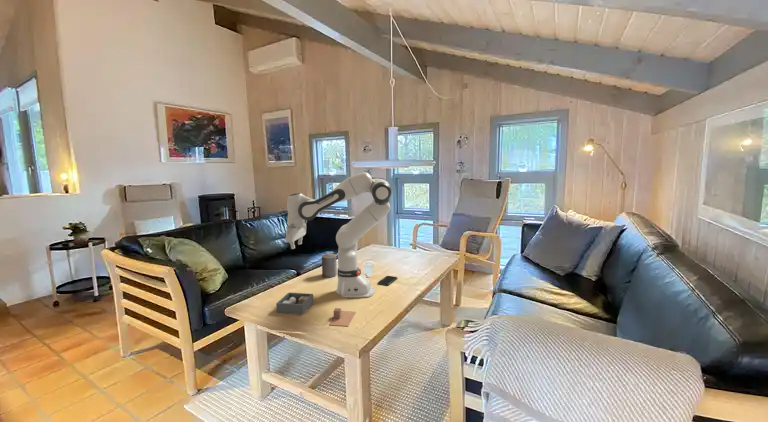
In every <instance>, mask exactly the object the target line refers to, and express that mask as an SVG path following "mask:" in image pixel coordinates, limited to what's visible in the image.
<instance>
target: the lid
mask: <svg viewBox="0 0 768 422" xmlns="http://www.w3.org/2000/svg"><path fill="white" fill-rule="evenodd" d="M332 311H333V318H332V319H331V321H330V322H329V324H328V326H333V327H334V326H335V327H336V326H337V327H347V328H348V327H349V326H350V324H351V322H352V320H353V319H354V316H356V313H357V312H356V311H350V310H348V311H347V310H342V308H337V307H335V308H334V309H333V310H332Z"/></svg>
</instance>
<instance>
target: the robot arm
mask: <svg viewBox="0 0 768 422" xmlns="http://www.w3.org/2000/svg"><path fill="white" fill-rule="evenodd" d="M364 193H365V194H366V193H370V194H371V195H372V198H373V200H372V201H371V203H370V204H369V205H367V206H365V207H364V208H363V209H362V210H361V211H360V212H358V214H356V215H355V216H354V217H353V218H352V219H351V220H349V221H348V222H347V223H346V224H343V225H341V227H340V228H339V229H338V230H337V232H336V235H335V241H336V244H337V246H338V248H337V249H338V250H337V264H338V265H337V275H336V276H337V286H336V290H335V291H336V294H338V295H340V296H341V297H343V298H351V299H352V298H356V299H357V298H370V297H372V296H374V294H375V291H376V289H375V287H374V286H372V284H371V281H370V280H369V278H367V277H366V276H364V275H363V274H362V272H361V271H362V268H359V267H358V241H359V240H361V239H362V237H364V235H366V234H367V233H368V232H369V231H370V230H371V229H372V228H374V227H375V226H376V225H377V224H378V223H379V222H381V221H382V220H383V219H384V218H385V217H386V216H387V215H388V213H389V212H390V211H391V204H390V202H389V201H390V198H391V195H392V188H391V185H390V183H389V182H388V181H387V180H386V179H384V178H382V177H372V176H371V174H370V173H368V172H367V171H363V172H359V173H357V174H354V175H352V176H349V177H347V178H346V179H343V180H342V181H341V182H340V183H339V184H337V185H336V186H335V188H333V189H332V190H331V191H330V192H329V193H327V194H325V195H323V196H321V197H319V198H317V199H315V198H310V197H308V196H306V195H304V194H303V193H302V192H296V193H292V194H290V195H289V196H288V197H287V200H286V201H287V202H286V204H287V206H286V207H287V208H286V209H287V228H286V231H285V242H286V243H289V245H290V249H291V250H294V249H296V245H295V241H297V240H298V241H297V245H298V246H299V245H302V244H303V237H304V236H305V235H306V234H307V223H308V221H312V220H314V219H315V218H316V217H317V216H318V214H320V213H321V212H322V211H323V210H326V209H327V208H330V207H331V206H333V205H335V204H338V203H341V202H345V201H348V200H351V199H353V198H356V197H358V196H360V195H362V194H364Z"/></svg>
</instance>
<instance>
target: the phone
mask: <svg viewBox="0 0 768 422" xmlns="http://www.w3.org/2000/svg"><path fill="white" fill-rule="evenodd" d="M397 280H398V277H397V276H393V275H386V276H384V277H383V278H382V279H380V280H379V281H378V282H377V285H379V286H385V287H388V286H390V285H392V284H393V283H394V282H395V281H397Z"/></svg>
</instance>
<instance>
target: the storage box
mask: <svg viewBox="0 0 768 422" xmlns="http://www.w3.org/2000/svg"><path fill="white" fill-rule="evenodd" d="M301 296H306V297H308V298H307V299H306V300H305V301H304V302H303V303H302V304H299V298H300V297H301ZM291 297H295V298H296V303H295V304H290V303H283V302H284V301H285V300H286V301H289V299H290V298H291ZM314 302H315V301H314V294H313V293H305V292H304V293H303V292H287V293H286V294H285V295H284V296H283V297H282V298H281V299H279V300H278V301H277V302H276V303H275V305H276V306H275V307H276V313H277V314H290V315H291V314H292V315H304V314H305V313H306V312H307V311H308V309H310V307H311V306H312V305H314Z"/></svg>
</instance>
